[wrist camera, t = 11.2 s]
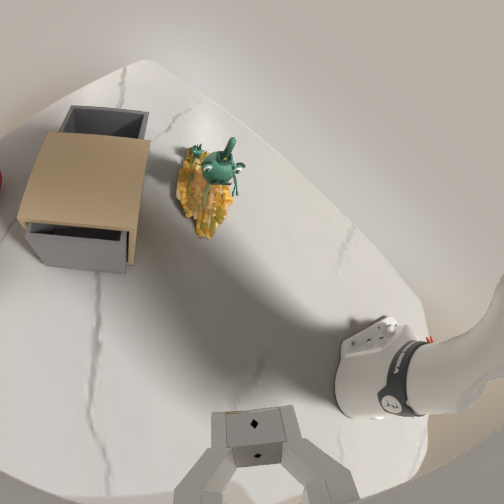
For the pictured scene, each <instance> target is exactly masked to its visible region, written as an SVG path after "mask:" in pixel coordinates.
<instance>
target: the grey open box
mask: <svg viewBox="0 0 504 504" xmlns="http://www.w3.org/2000/svg"><path fill="white" fill-rule="evenodd" d="M148 116H149V112H143V111H135V110H126V109H116V108H105V107H92V106H73V105H71V107H70V109H69V111H68V113H67V115H66V117H65V119H64V122H63V124H62V126H61V128H60V130H59V132H62V133H80V134H94V135H106V136H116V137H126V138H135V139H143V140H144V136H145V131H146V126H147V121H148ZM24 238H25V239H26V241H27V242H28V244H29V245H30V246H31V248H32V249H33V250H34V252H35V253H36V254H37V255H38V257H39V258H40V259H41V261H42V262H43V263H44V264H45V266H52V267H61V268H70V269H80V270H90V271H101V272H112V273H123V274H125V272H126V259H127V248H128V238H129V231H119V230H108V229H98V228H88V227H77V226H66V225H55V224H44V223H33V222H28V223H27V227H26V231H25V236H24Z"/></svg>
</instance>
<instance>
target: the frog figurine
mask: <svg viewBox="0 0 504 504" xmlns="http://www.w3.org/2000/svg"><path fill="white" fill-rule="evenodd" d="M235 144H236V139H235V138H234V137H232V138H230V139H229V141H228V144H227V146H226V148H225V150H224V151H217V152H213V153H207V151H206V152H205V151H204V150H202V149H201V146H202V144H200V146H199V147H198V145H197V146H196V145H194V146H193V147H191V148H190V149H188V151H187V152H186V155H187V156H186V158H185V159H186V160H187V161H186V160H185V161H183V166H182V168H181V169H180V170H179V175H178V179H177V190H176V197H177V199H178V200H179V201H180V202H181V205H182V207H183V208H184V209H183V212H186V213H185V216H186V217H187V218H188V219H189V217H192V216H193V219H194V220H196V233H198V236H199V238H200V239H201V237H206V238H208V239H210V237H212V236H213V235H214V233H215V229H216V228H217V226H218V224H220V223H222V222H223V221H224V217H225V216H226V211H227V210H228V209H229V207H230V204H232V203H233V198H232V196H234V191H235V187H236V195H237V196H238V191H237V181H236V177H235V174H238V173H240V172H241V170H242V167H243V168H245V164H243V163H237V164H236V165H237V166H235V163H234V161H233V157H232V154H231V152H232V150H233V148H234V146H235ZM201 154H202V155H201ZM238 165H241V166H242V167H241V166H238ZM234 173H235V174H234ZM232 176H233V179H234V183H235V187H234V190H233V191H232V196H231V195H230V192H229V185H231V184H232V183H231V184H230V183H229V180H230V179H231V178H232ZM234 177H235V178H234ZM210 235H211V236H210Z"/></svg>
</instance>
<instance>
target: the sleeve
mask: <svg viewBox="0 0 504 504" xmlns="http://www.w3.org/2000/svg"><path fill="white" fill-rule="evenodd" d="M150 142H151V140H143V139H135V138H126V137H116V136H106V135H94V134H80V133H62V132H48V133H47V135H46V137H45V139H44V142H43V144H42V146H41V149H40V151H39V153H38V156H37V158H36V161H35V163H34V166H33V169H32V171H31V174H30V177H29V180H28V182H27V185H26V188H25V191H24V194H23V198H22V201H21V204H20V208H19V211H18V215H17V219H18V221H19V222H20V224H21V226H22V227H23V229H24V230H25V231H26V227H27V223H28V222H33V223H44V224H55V225H66V226H77V227H88V228H98V229H108V230H119V231H129V238H128V248H127V259H126V264H127V265H134V257H135V245H136V235H137V226H138V217H139V209H140V201H141V194H142V188H143V181H144V175H145V169H146V163H147V158H148V152H149V147H150Z"/></svg>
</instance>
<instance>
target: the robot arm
mask: <svg viewBox="0 0 504 504" xmlns="http://www.w3.org/2000/svg"><path fill="white" fill-rule="evenodd" d="M430 338H431V341H430V340H429V338H428V337H426V339H427V342H428V343H427V342H423V341H419V339H418V337H417V335H416V333H415V332H414V330H413V329H412V328H411V327H410V326H408V325H399V324H398V323H397V322H396V320H395V319H393V318H392V317H390V316H389V317H385V318H383V319H381V320H380V321H378V322H376V323H375V324H373V325H371V326H369V327H368V328H366V329H364V330H362V331H361V332H359V333H357V334H355V335H353V336H352V337H350V338H348V339H346V340H344V341H343V342H342V344H341V360H340V364H339V367H338V370H337V374H336V379H335V394H336V399H337V402H338V405H339V407H340V409H341V410H342V411H343V413H344V414H346V415H347V416H348V417H350V418H353V419H365V418H372V419H382V418H383V417H393V416H403V417H419V416H424V415H425V414H451V413H461V412H463V411H465V410H467V409H468V408H470V407H471V406H472V405H473V404H474V403H475V402H476V401H477V400H478V398H479V397H480V395H481V393H482V391H483V389H484V386H485V384H486V382H488V381H490V380H493V379H495V378H499V377H504V274H503V276H502V277H501V279H500V281H499V283H498V285H497V287H496V289H495V292H494V296H493V299H492V302H491V304H490V307H489V309H488V310H487V312H486V314H485V315H484V317H483V318H482V319H481V321H480V322H479V323H478V324H477V325H476V326H474V327H473V328H472V329H470V330H469V331H467V332H466V333H464V334H461V335H459V336H456V337H453V338H450V339H446V340H443V341H439V342H435V343H434V342H433V339H432V337H431V336H430ZM431 342H432V343H431ZM278 463H281V465H282V466H283V467H284V468H285V469H286V470H287V471H288V472H289V473H290V474H291V475H292V476H293V477H294V478H296V479H297V480H298V481H299V482H300V483H301V484H302V485H303V486H304V487H305V488H304V491H303V494H302V497H301V500H300V502H299V504H504V424H503V425H502V426H501V427H499V428H498V429H497V430H495V431H494V432H493V433H491V434H490V435H488V436H487V437H486V438H484V439H483V440H481V441H480V442H478V443H477V444H475V445H474V446H472V447H470V448H469V449H467V450H466V451H464V452H462V453H461V454H459V455H458V456H456V457H454V458H452V459H451V460H449V461H447V462H445V463H443V464H442V465H440V466H438V467H436V468H434V469H432V470H430V471H428V472H426V473H424V474H422V475H420V476H418V477H416V478H413V479H411V480H409V481H407V482H404V483H402V484H400V485H397V486H395V487H392V488H390V489H387V490H384V491H382V492H379V493H376V494H374V495H371V496H368V497H365V498H362V499H360V498H359V495H358V492H357V489H356V486H355V484H354V481H353V478H352V475H351V472H350V471H349V470H348V469H347V468H345V467H344V466H342V465H341V464H340V463H338V462H337V461H335V460H334V459H333V458H331V457H330V456H329V455H327V454H326V453H324V452H323V451H322V450H321V449H319V448H318V447H317V446H315V445H314V444H313V443H311V442H310V441H309V440H308V439H306V438H304V439H302V437H301V433H300V429H299V425H298V422H297V418H296V414H295V411H294V407H293V406H292V405H287V406H281V407H271V408H263V409H255V410H248V411H232V412H212V415H211V448H207V450H206V451H205V452H204V454H203V455H202V456H201V457H200V459H199V460H198V461H197V462H196V464H195V465H194V466H193V467H192V469H191V470H190V471H189V472H188V474H187V475H186V476H185V477H184V478H183V480H182V481H181V482H180V483H179V484H178V486H177V487H176V488H175V489H174V504H226V502H225V500H224V498H223V495H222V492H223V490H224V489H225V487H226V485H227V484H228V482H229V481H230V479H231V477H232V476H233V474H234V472H235V471H236V468H239V467H249V466H258V464H259V465H269V464H278ZM0 504H82V503H79V502H76V501H72V500H69V499H66V498H63V497H61V496H58V495H55V494H52V493H50V492H47V491H44V490H42V489H39V488H37V487H35V486H32V485H30V484H28V483H25V482H23V481H21V480H19V479H17V478H15V477H13V476H11V475H9V474H7V473H5V472H3V471H1V470H0Z"/></svg>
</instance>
